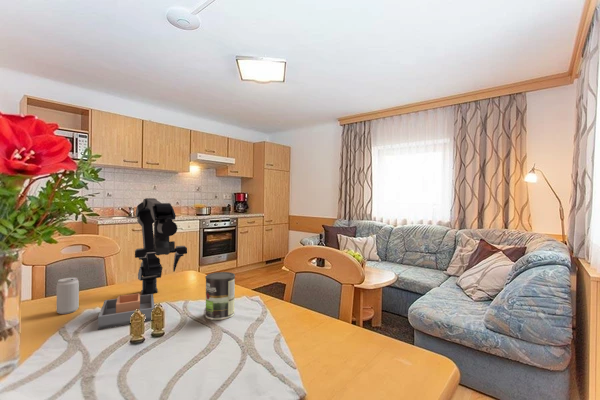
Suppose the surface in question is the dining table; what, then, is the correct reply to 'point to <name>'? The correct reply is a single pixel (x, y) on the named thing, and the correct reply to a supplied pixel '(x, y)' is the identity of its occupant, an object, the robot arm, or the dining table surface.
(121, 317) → the big crate
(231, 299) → the coffee can
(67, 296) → the beverage can
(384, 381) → the dining table surface
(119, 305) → the small crate
